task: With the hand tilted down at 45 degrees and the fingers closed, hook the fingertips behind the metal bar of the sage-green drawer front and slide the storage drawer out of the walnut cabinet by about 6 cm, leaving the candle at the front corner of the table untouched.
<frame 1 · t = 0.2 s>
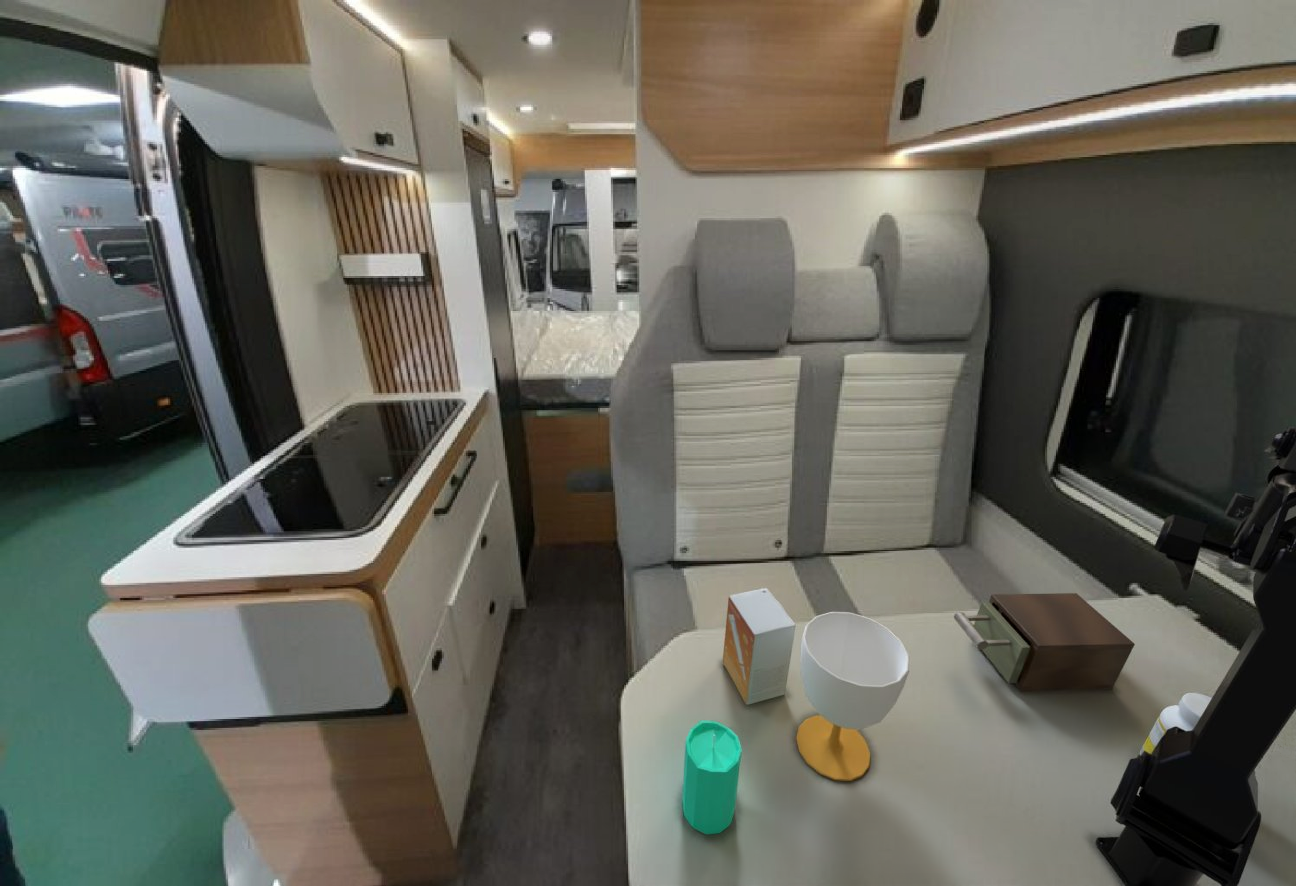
hand: (1231, 606, 71), 15 cm above the table, tool pointing down, fingers open, 9 cm apart
candle: (708, 807, 62), on the table
cabinet: (1040, 661, 82), on the table
drawer: (1018, 640, 80), point 4 cm above the table, slide at 0.5 cm
cup: (832, 747, 69), on the table
small box: (752, 679, 78), on the table
pill bottle: (1169, 778, 65), on the table
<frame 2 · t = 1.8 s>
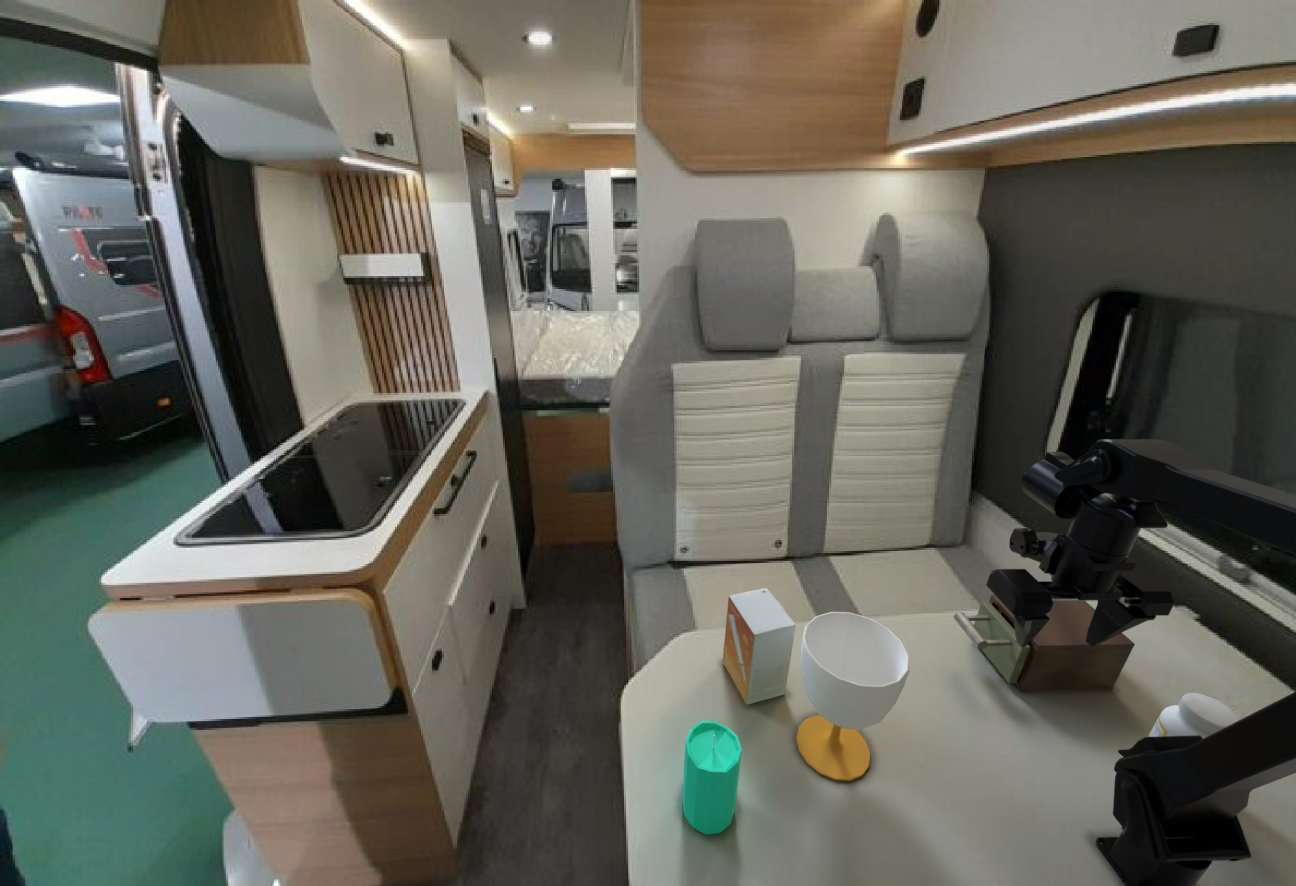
hand: (1055, 644, 68), 13 cm above the table, tool pointing down, fingers open, 9 cm apart
nothing on the table moved.
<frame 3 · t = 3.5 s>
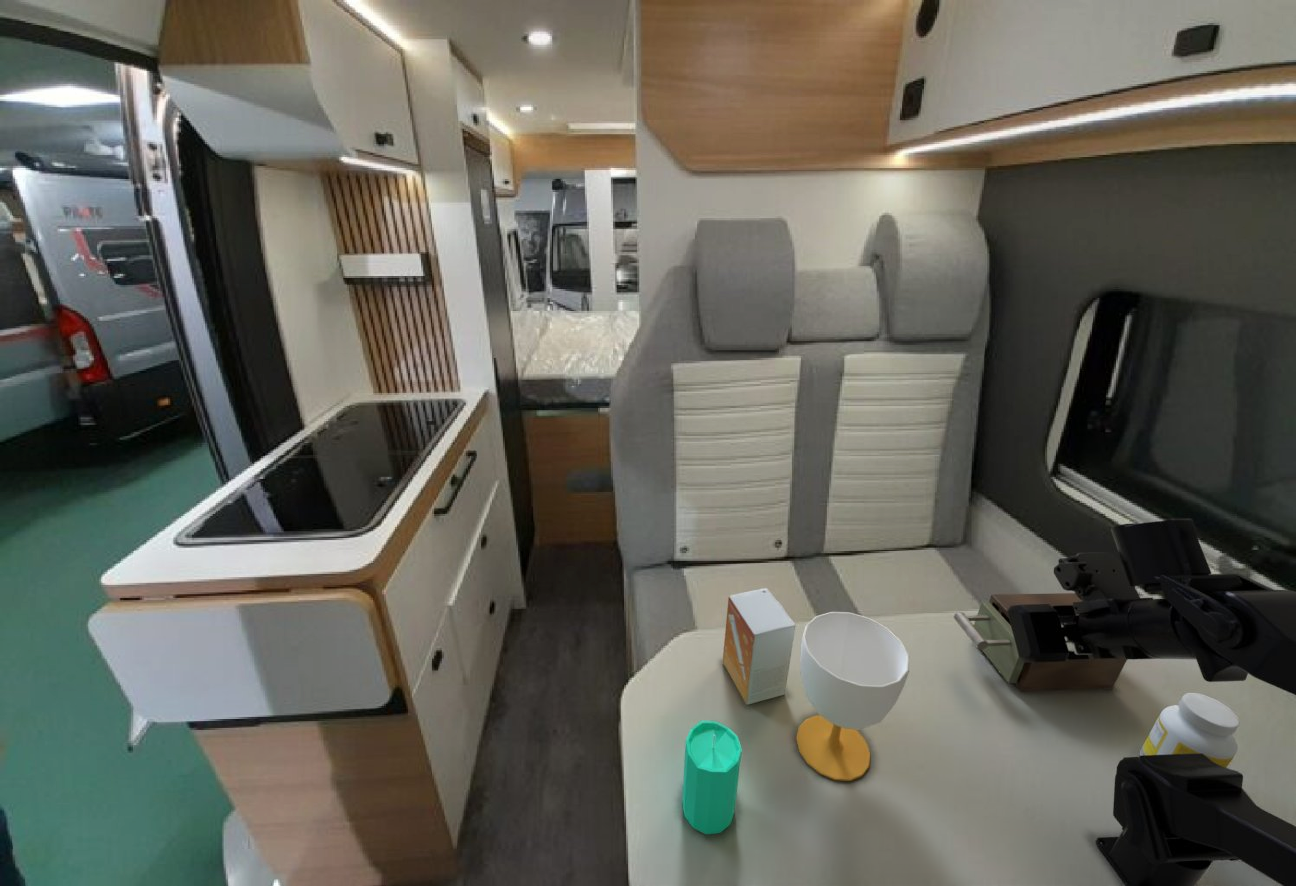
hand: (1043, 633, 69), 13 cm above the table, tool tilted 45°, fingers closed
nothing on the table moved.
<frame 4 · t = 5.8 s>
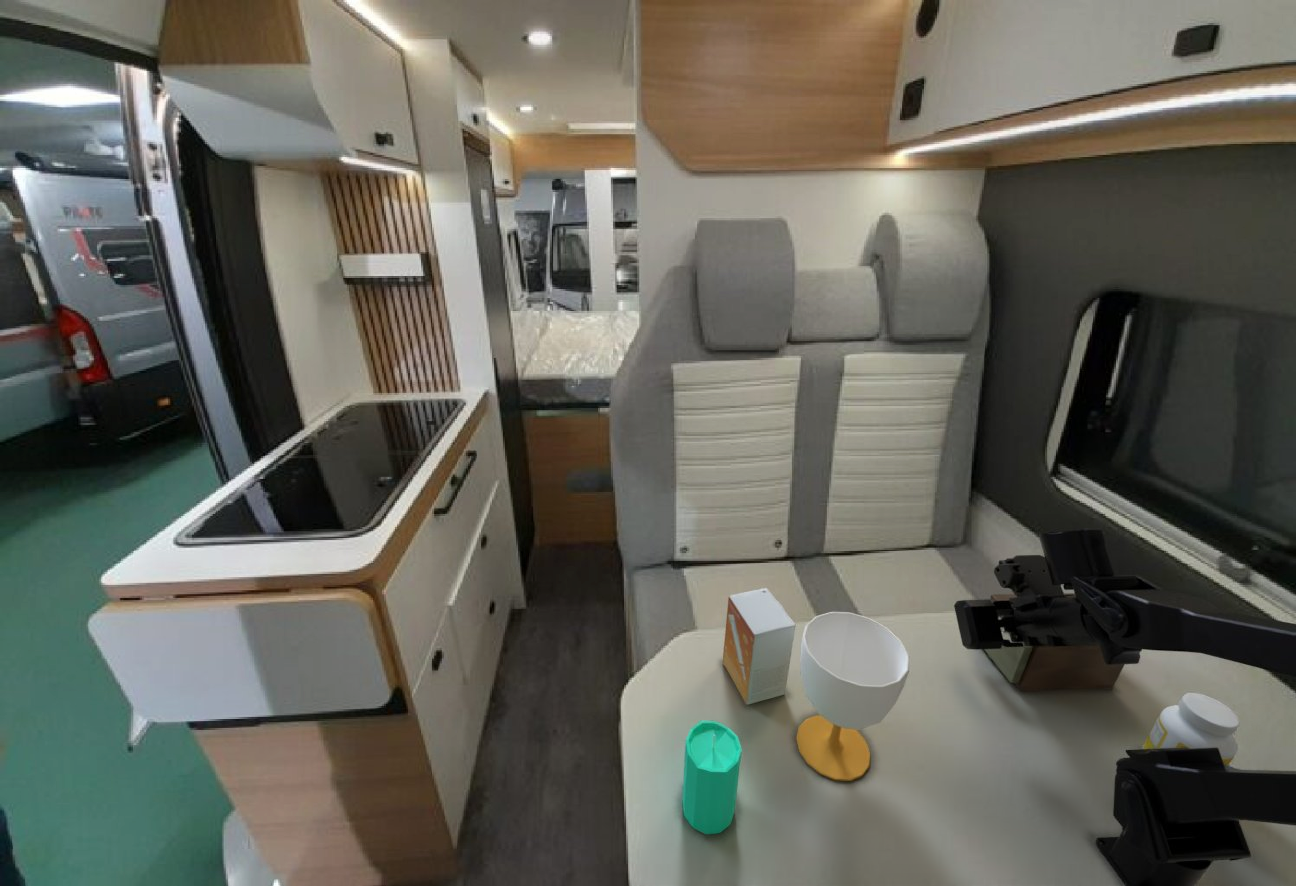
hand: (989, 624, 79), 7 cm above the table, tool tilted 45°, fingers closed
drawer: (1021, 640, 80), point 4 cm above the table, slide at 0.1 cm, touching gripper
everything else where it was.
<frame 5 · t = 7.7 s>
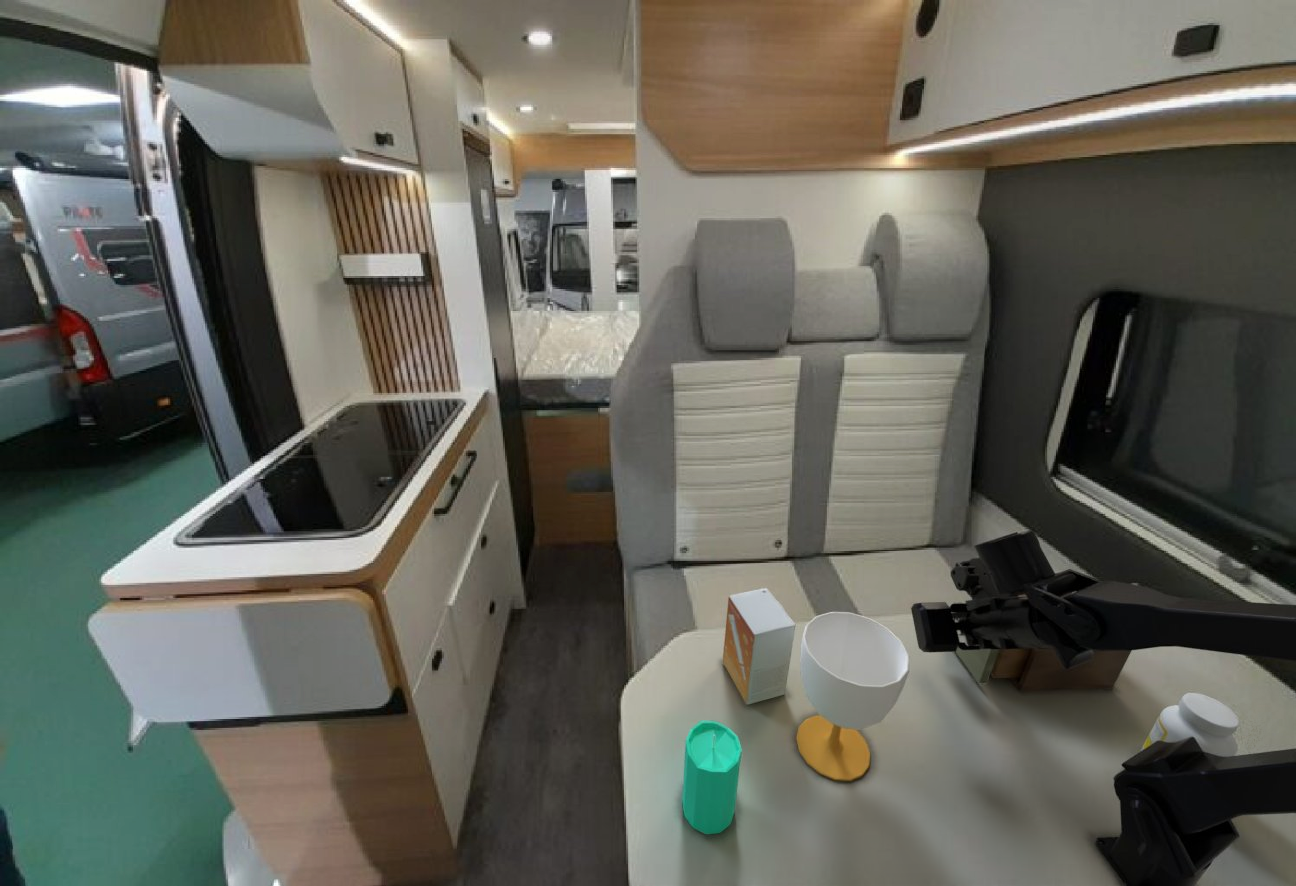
hand: (951, 627, 79), 7 cm above the table, tool tilted 45°, fingers closed
drawer: (990, 640, 80), point 4 cm above the table, slide at 4.9 cm, touching gripper
everything else where it was.
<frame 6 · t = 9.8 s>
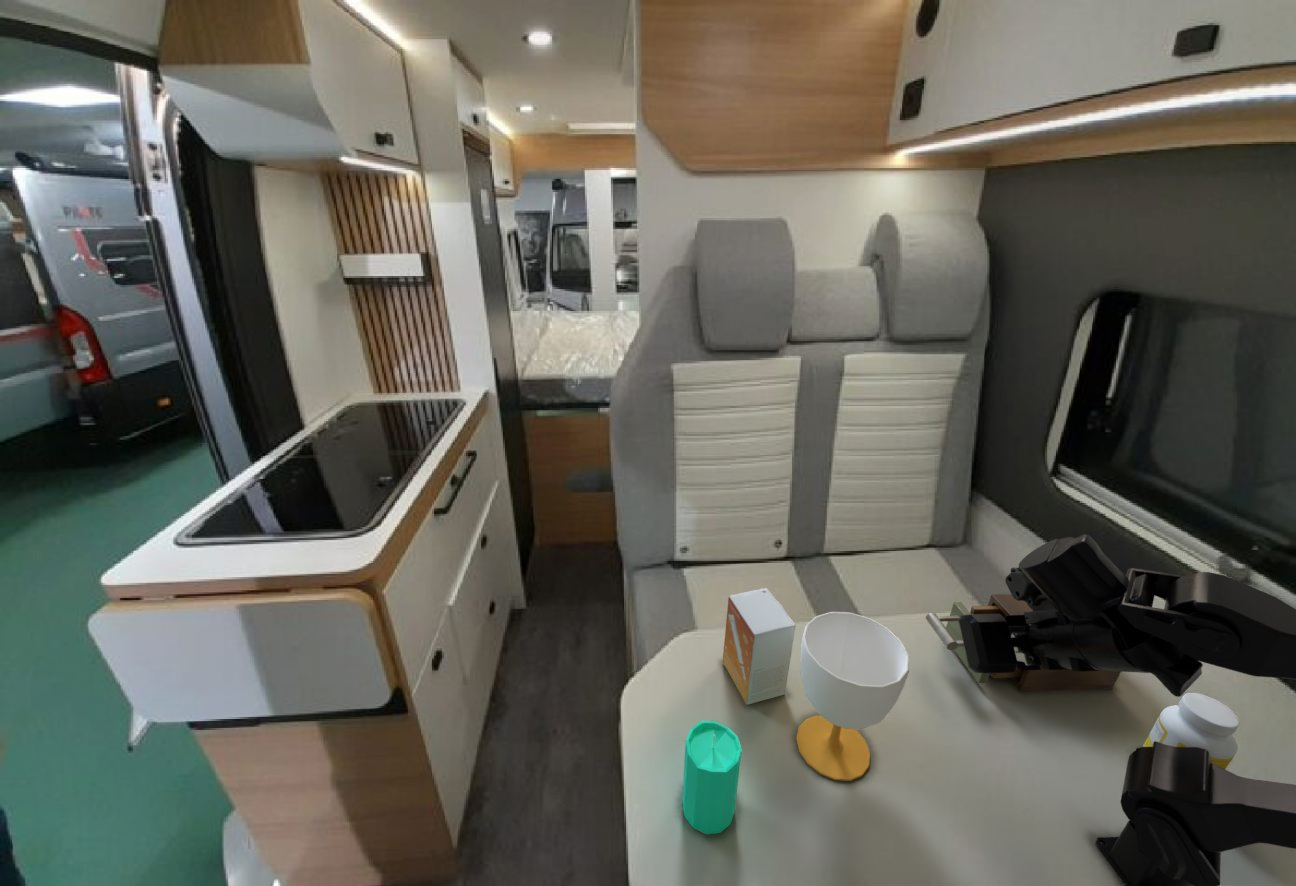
hand: (1000, 642, 68), 13 cm above the table, tool tilted 45°, fingers closed
drawer: (990, 640, 80), point 4 cm above the table, slide at 4.9 cm
everything else where it was.
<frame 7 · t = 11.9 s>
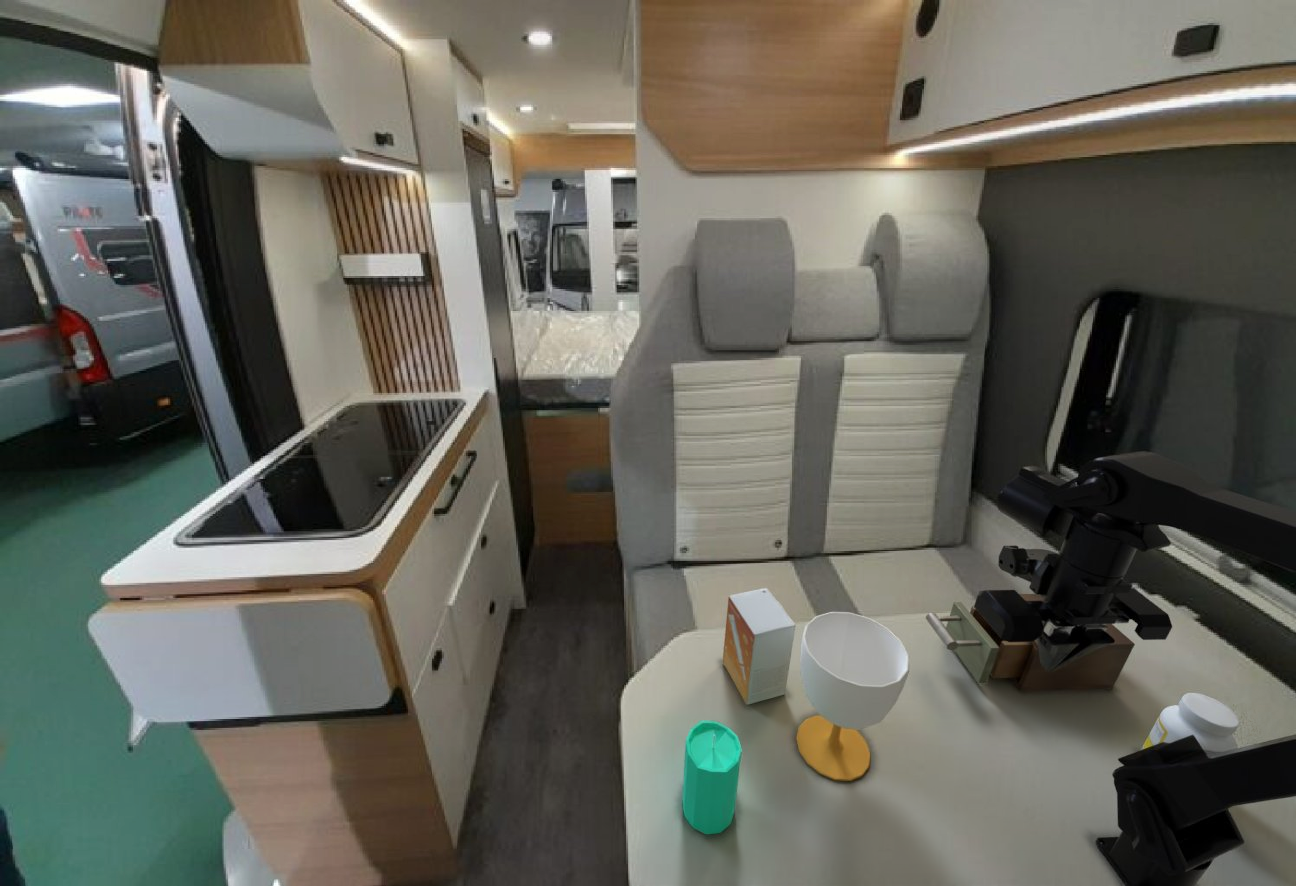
hand: (1046, 668, 64), 13 cm above the table, tool pointing down, fingers closed
nothing on the table moved.
at the end: drawer slide at 4.9 cm; candle moved 0.2 cm from its start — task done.
